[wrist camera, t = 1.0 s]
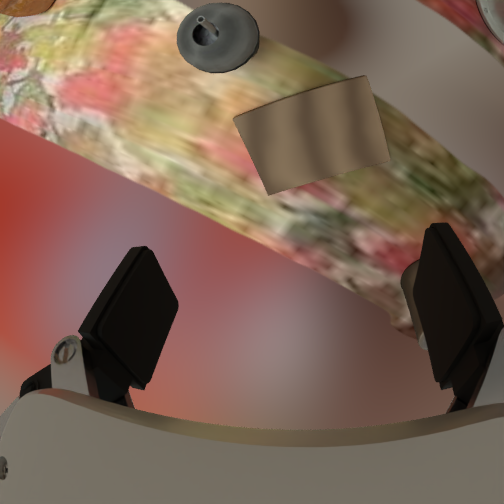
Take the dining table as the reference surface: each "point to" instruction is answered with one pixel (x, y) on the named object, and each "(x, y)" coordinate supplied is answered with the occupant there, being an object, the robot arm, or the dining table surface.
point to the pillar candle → (407, 287)
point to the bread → (24, 7)
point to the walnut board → (314, 134)
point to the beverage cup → (218, 37)
